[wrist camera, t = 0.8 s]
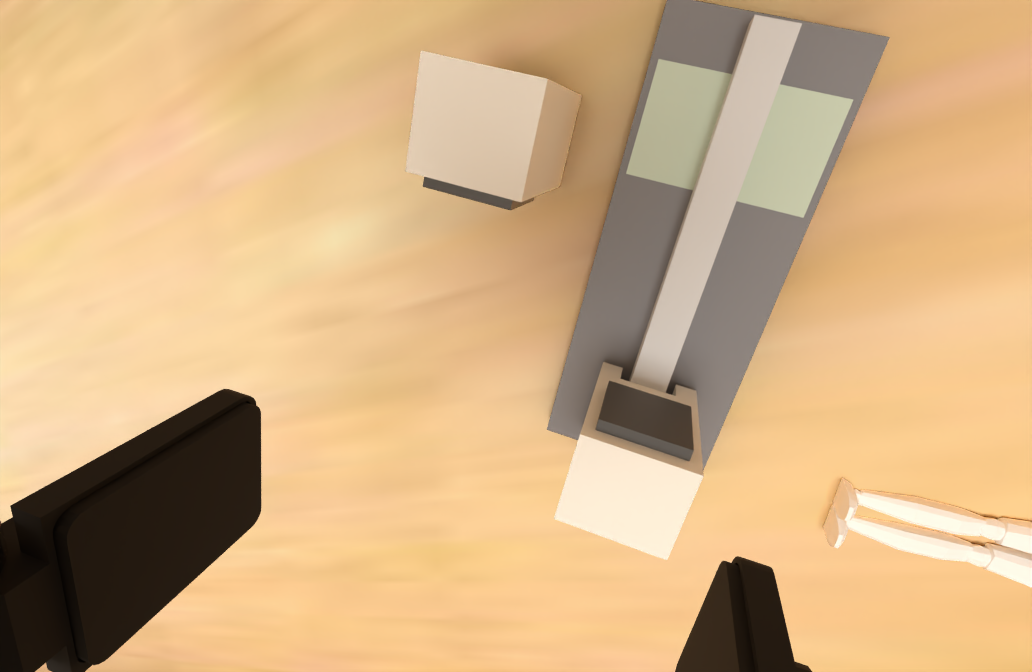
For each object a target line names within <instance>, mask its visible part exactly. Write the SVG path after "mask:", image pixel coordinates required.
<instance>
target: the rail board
mask: <svg viewBox="0 0 1032 672" xmlns="http://www.w3.org/2000/svg"><path fill="white" fill-rule="evenodd" d="M889 38H890V37H886V36H881V35H876V34H870V33H865V32H860V31H854V30H849V29H844V28H838V27H833V26H828V25H822V24H817V23H812V22H806V21H801V20H796V19H791V18H785V17H780V16H775V15H769V14H764V13H759V12H753V11H748V10H743V9H737V8H732V7H727V6H721V5H716V4H711V3H706V2H700V1H695V0H667V2H666V5H665V9H664V12H663V16H662V19H661V23H660V27H659V30H658V34H657V37H656V41H655V45H654V48H653V52H652V55H651V59H650V62H649V66H648V70H647V73H646V77H645V80H644V84H643V87H642V91H641V95H640V98H639V102H638V105H637V109H636V112H635V116H634V120H633V123H632V127H631V130H630V134H629V138H628V141H627V145H626V148H625V152H624V155H623V159H622V163H621V166H620V170H619V173H618V177H617V180H616V184H615V188H614V191H613V195H612V198H611V202H610V205H609V209H608V213H607V216H606V220H605V223H604V227H603V231H602V234H601V238H600V241H599V245H598V248H597V252H596V256H595V259H594V263H593V266H592V270H591V273H590V277H589V281H588V284H587V288H586V291H585V295H584V298H583V302H582V306H581V309H580V313H579V316H578V320H577V324H576V327H575V331H574V334H573V338H572V341H571V345H570V349H569V352H568V356H567V359H566V363H565V366H564V370H563V374H562V377H561V381H560V384H559V388H558V391H557V395H556V399H555V402H554V406H553V409H552V413H551V417H550V420H549V424H548V427H547V430H549V431H552V432H555V433H558V434H561V435H564V436H567V437H570V438H573V439H576V440H578V443H577V446H576V449H575V452H574V455H573V459H572V462H571V465H570V468H569V472H568V475H567V478H566V481H565V484H564V488H563V491H562V494H561V497H560V501H559V504H558V507H557V510H556V514H555V517H554V519H556V520H559V521H561V522H564V523H567V524H570V525H572V526H575V527H578V528H580V529H583V530H586V531H589V532H591V533H594V534H597V535H599V536H602V537H605V538H608V539H610V540H613V541H616V542H618V543H621V544H624V545H627V546H629V547H632V548H635V549H637V550H640V551H643V552H646V553H648V554H651V555H654V556H656V557H659V558H662V559H665V560H667V559H668V557H669V555H670V552H671V550H672V548H673V545H674V543H675V541H676V539H677V536H678V534H679V532H680V529H681V527H682V525H683V522H684V520H685V518H686V515H687V513H688V511H689V508H690V506H691V504H692V502H693V499H694V497H695V495H696V492H697V490H698V488H699V485H700V483H701V481H702V478H703V476H704V475H703V470H704V467H705V465H706V463H707V460H708V458H709V456H710V453H711V451H712V449H713V447H714V444H715V442H716V440H717V437H718V435H719V433H720V430H721V428H722V426H723V423H724V421H725V419H726V416H727V414H728V412H729V409H730V407H731V405H732V402H733V400H734V398H735V395H736V393H737V391H738V388H739V386H740V384H741V381H742V379H743V377H744V375H745V372H746V370H747V368H748V365H749V363H750V361H751V358H752V356H753V354H754V351H755V349H756V347H757V344H758V342H759V340H760V337H761V335H762V333H763V330H764V328H765V326H766V323H767V321H768V319H769V316H770V314H771V312H772V309H773V307H774V305H775V302H776V300H777V298H778V296H779V293H780V291H781V289H782V286H783V284H784V282H785V279H786V277H787V275H788V272H789V270H790V268H791V265H792V263H793V261H794V258H795V256H796V254H797V251H798V249H799V247H800V244H801V242H802V240H803V237H804V235H805V233H806V230H807V228H808V226H809V224H810V221H811V219H812V217H813V214H814V212H815V210H816V207H817V205H818V203H819V200H820V198H821V196H822V193H823V191H824V189H825V186H826V184H827V182H828V179H829V177H830V175H831V172H832V170H833V168H834V165H835V163H836V161H837V158H838V156H839V154H840V151H841V149H842V147H843V145H844V142H845V140H846V138H847V135H848V133H849V131H850V128H851V126H852V124H853V121H854V119H855V117H856V114H857V112H858V110H859V107H860V105H861V103H862V100H863V98H864V96H865V93H866V91H867V89H868V86H869V84H870V82H871V79H872V77H873V75H874V73H875V70H876V68H877V66H878V63H879V61H880V59H881V56H882V54H883V52H884V49H885V47H886V45H887V42H888V40H889Z"/></svg>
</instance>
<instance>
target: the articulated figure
mask: <svg viewBox="0 0 1032 672" xmlns="http://www.w3.org/2000/svg"><path fill="white" fill-rule="evenodd" d="M833 504H834V505H833ZM833 504H832V505H831V508H830V510H829V513H828V516H827V518H826V521H825V524H824V526H823V529H824V532H825V536H826V539H827V542H828V543H829V545H830V546H833V547H836V548H839V547H840V545H841V544H842V543H843V542H844V539H845V537H846V535H847V532H848V529H849V530H852V531H854V532H857V533H859V534H861V535H864V536H866V537H869V538H871V539H873V540H876V541H878V542H881V543H883V544H885V545H888V546H890V547H892V548H895V549H897V550H901V551H905V552H910V553H914V554H918V555H923V556H927V557H931V558H936V559H940V560H951V561H964V562H969V563H972V564H974V565H976V566H982V567H983V569H986V570H988V571H991V572H993V573H996V574H999V575H1001V576H1004V577H1006V578H1009V579H1011V580H1014V581H1017V582H1019V583H1022V584H1024V585H1027V586H1029V587H1032V522H1031V521H1024V520H1018V519H1010V518H998V519H997V520H996V519H994V518H988V517H983V516H980V515H978V514H975V513H973V512H971V511H968V510H966V509H963V508H960V507H957V506H953V505H949V504H945V503H941V502H936V501H932V500H928V499H924V498H920V497H916V496H909V495H902V494H894V493H887V492H879V491H872V490H864V489H861V491H859V490H857V489H854V488H853V486H852V484H851V483H850V482H848V481H847V480H845V479H844V478H842V479H841V481H840V484H839V487H838V489H837V492H836V495H835V497H834V500H833ZM858 504H859V505H862V506H864V507H867V508H870V509H873V510H876V511H878V512H881V513H884V514H887V515H890V516H892V517H895V518H898V519H901V520H904V521H906V522H909V523H913V524H917V525H921V526H925V527H929V528H932V529H936V530H940V531H944V532H948V533H952V534H958V535H970V536H980V535H982V536H984V537H986V538H988V539H991V540H994V541H995V542H996V543H997V544H1000V545H1003V546H1006V547H1003V546H999V545H994V544H990V543H986V544H985V545H984V547H983V546H980V545H978V544H971V542H968V541H966V540H963V539H961V538H958V537H956V536H953V535H950V534H947V533H943V532H938V531H934V530H929V529H924V528H920V527H915V526H911V525H906V524H901V523H896V522H890V521H885V520H880V519H874V518H869V517H863V516H858V515H855V512H856V509H857V507H858ZM1008 547H1010V548H1008ZM1012 548H1014V549H1012Z"/></svg>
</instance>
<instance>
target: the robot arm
mask: <svg viewBox="0 0 1032 672" xmlns="http://www.w3.org/2000/svg"><path fill="white" fill-rule="evenodd" d="M11 511H12V515H13V518H11V519H9V520H7V521H5V522H4V523H2V524H1V521H0V672H35V671H36V670H37V669H39V668H40V667H41V666H42V665H43V664H45V663H46V664H47V668H48V670H50V671H52V672H85V671H86V670H87V669H88V668H89V667H90V666H92V665H97V664H100V663H102V662H104V661H105V660H106V659H108V658H109V657H110V656H111V655H112V654H113V653H114V652H116V651H117V650H118V649H119V648H120V647H121V646H122V645H123V644H124V643H125V642H126V641H128V640H129V639H130V638H131V637H132V636H133V635H134V634H135V633H136V632H137V631H139V630H140V629H141V628H142V627H143V626H144V625H145V624H146V623H147V622H148V621H149V620H151V619H152V618H153V617H154V616H155V615H156V614H157V613H158V612H159V611H160V610H162V609H163V608H164V607H165V606H166V605H167V604H168V603H169V602H170V601H171V600H172V599H174V598H175V597H176V596H177V595H178V594H179V593H180V592H181V591H182V590H183V589H184V588H186V587H187V586H188V585H189V584H190V583H191V582H192V581H193V580H194V579H195V578H197V577H198V576H199V575H200V574H201V573H202V572H203V571H204V570H205V569H206V568H207V567H209V566H210V565H211V564H212V563H213V562H214V561H215V560H216V559H217V558H218V557H219V556H221V555H222V554H223V553H224V552H225V551H226V550H227V549H228V548H229V547H230V546H232V545H233V544H234V543H235V542H236V541H237V540H238V539H239V538H240V537H241V536H242V535H244V534H245V533H246V532H247V531H248V530H249V529H250V528H251V527H252V526H253V525H254V524H255V522H256V521H257V519H258V517H259V515H260V512H261V411H260V409H259V407H257V406H256V401H255V400H254V398H252V397H251V396H248V395H245V394H242V393H239V392H236V391H233V390H230V389H223V390H220V391H218V392H216V393H215V394H213V395H211V396H209V397H207V398H206V399H204V400H202V401H200V402H198V403H196V404H195V405H193V406H191V407H189V408H187V409H186V410H184V411H182V412H180V413H178V414H176V415H175V416H173V417H171V418H169V419H167V420H166V421H164V422H162V423H160V424H158V425H156V426H155V427H153V428H151V429H149V430H147V431H146V432H144V433H142V434H140V435H138V436H136V437H135V438H133V439H131V440H129V441H127V442H126V443H124V444H122V445H120V446H118V447H116V448H115V449H113V450H111V451H109V452H107V453H106V454H104V455H102V456H100V457H98V458H96V459H95V460H93V461H91V462H89V463H87V464H85V465H84V466H82V467H80V468H78V469H76V470H75V471H73V472H71V473H69V474H67V475H65V476H64V477H62V478H60V479H58V480H56V481H55V482H53V483H51V484H49V485H47V486H45V487H44V488H42V489H40V490H38V491H36V492H35V493H33V494H31V495H29V496H27V497H25V498H24V499H22V500H20V501H18V502H16V503H15V504H13V505H11ZM675 672H812V671H811V670H810V668H809V667H808V666H806V665H803V664H800V663H797V662H794V657H793V653H792V649H791V644H790V640H789V636H788V631H787V627H786V623H785V618H784V614H783V610H782V605H781V601H780V597H779V592H778V588H777V584H776V580H775V575H774V572H773V569H772V568H771V567H769V566H766V565H763V564H760V563H757V562H754V561H751V560H748V559H745V558H741V557H735V558H734V559H733V561H732V563H729V562H726V561H722V562H721V564H720V565H719V568H718V570H717V572H716V575H715V577H714V579H713V582H712V584H711V586H710V589H709V591H708V593H707V596H706V598H705V600H704V603H703V605H702V607H701V610H700V612H699V614H698V617H697V619H696V621H695V624H694V626H693V628H692V631H691V633H690V635H689V638H688V640H687V642H686V645H685V647H684V649H683V652H682V654H681V656H680V659H679V661H678V664H677V667H676V670H675Z"/></svg>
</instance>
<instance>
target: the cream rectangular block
mask: <svg viewBox="0 0 1032 672" xmlns="http://www.w3.org/2000/svg"><path fill="white" fill-rule="evenodd" d="M581 97H582V95H580V94H578V93H576V92H574V91H572V90H570V89H568V88H566V87H564V86H562V85H560V84H558V83H555V82H553V81H551V80H549V79H547V78H542V77H538V76H533V75H529V74H524V73H520V72H515V71H511V70H506V69H502V68H497V67H493V66H488V65H484V64H479V63H475V62H471V61H466V60H462V59H457V58H453V57H448V56H444V55H439V54H435V53H430V52H426V51H421V53H420V61H419V69H418V77H417V85H416V92H415V100H414V108H413V116H412V123H411V131H410V139H409V147H408V155H407V162H406V170H405V172H409V173H413V174H417V175H420V176H424V182H423V187H426V188H430V189H434V190H437V191H441V192H445V193H448V194H452V195H456V196H459V197H463V198H467V199H471V200H474V201H478V202H482V203H485V204H489V205H493V206H496V207H500V208H504V209H508V210H512V209H515V208H517V207H519V206H522V205H524V204H526V203H529V202H531V201H533V200H534V197H536V196H538V195H541V194H543V193H546V192H548V191H551V190H553V189H555V188H558V187H560V184H561V180H562V176H563V172H564V168H565V164H566V159H567V155H568V151H569V147H570V143H571V139H572V134H573V130H574V126H575V122H576V118H577V114H578V109H579V105H580V101H581Z"/></svg>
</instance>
